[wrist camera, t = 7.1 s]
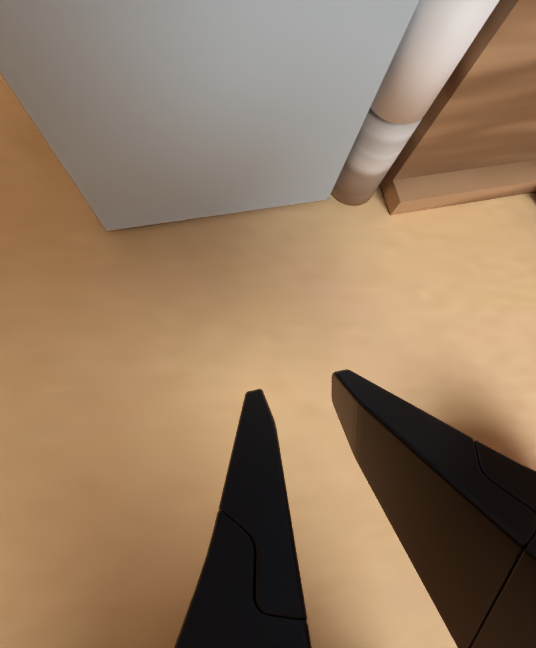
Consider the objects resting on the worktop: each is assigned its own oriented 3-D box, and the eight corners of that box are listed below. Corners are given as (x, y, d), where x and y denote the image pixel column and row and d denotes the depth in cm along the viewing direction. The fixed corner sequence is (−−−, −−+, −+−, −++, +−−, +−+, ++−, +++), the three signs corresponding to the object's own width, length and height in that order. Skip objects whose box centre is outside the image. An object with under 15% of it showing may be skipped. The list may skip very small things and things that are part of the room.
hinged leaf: (381, 199, 22) (924, -569, 5) (107, 239, 20) (-791, -1049, 2) (368, 158, 23) (806, -650, 6) (101, 191, 20) (-635, -1086, 3)
